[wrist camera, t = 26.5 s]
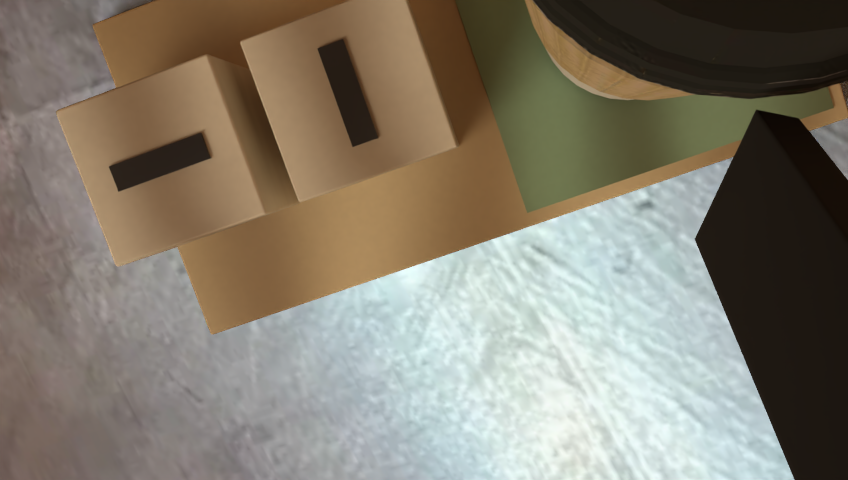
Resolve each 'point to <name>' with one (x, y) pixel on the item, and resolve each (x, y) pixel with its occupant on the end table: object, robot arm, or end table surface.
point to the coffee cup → (695, 46)
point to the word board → (361, 140)
